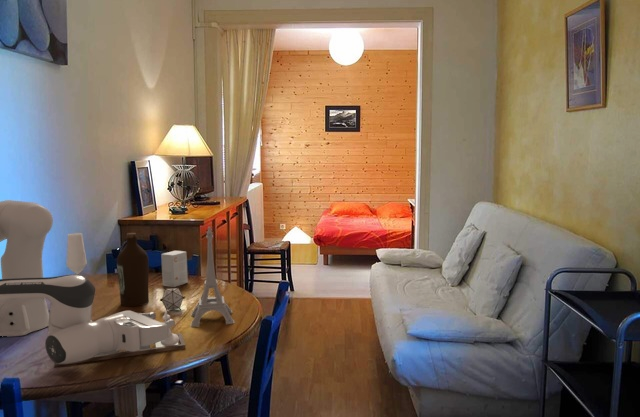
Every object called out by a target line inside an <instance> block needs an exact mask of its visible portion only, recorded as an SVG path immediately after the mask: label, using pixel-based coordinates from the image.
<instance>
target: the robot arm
mask: <svg viewBox="0 0 640 417" xmlns="http://www.w3.org/2000/svg"><path fill="white" fill-rule="evenodd" d="M53 224H54V218H53V215H52V213H51V211H50V210H49V209H48V208H47V207H44V206H43V205H41V204H39V203H37V202H32V201H22V200H21V201H20V200H11V199H8V200H7V199H6V200H2V201H0V243H1V242H3V241H5V240H6V245H5V249H4V253H3V254H2V255H1V257H0V271H1V278H0V336H2V337H3V336H7V337H19V336H20V337H21V336H25V335H27V334H30V333H32V332H36V331H38V330H41V329H44V328H48V329H47V333H48V336H47V337H46V339H45V342H44V343H45V351H46V354H47V355H48V358H49V359H50V360H51V361H52V362H53V363H54V364H55V363H56V364H67V365H69V364H68V363H74V362H79V361H83V360H86V359H89V358H92V357H95V356H96V355H98V354H100V353H109V352H112V351H115V350H116V351H119V352H120V351H124V352H126V351H132V352H134V351H137V350H139V349H140V347H143V346H148V345H150V346H151V345H155V343H157V342H160V341H162V340H164V339H166V338H167V337H168V329H169V328H170V329H171V328H173V327H175V326H176V321H175V319H172V318H170V319H169V320H166V322H165V321H164V322H162V321H159V320H156V318H157V315H156V314H157V313H156V312H153V311H150V312H135V311H132V310H130V309H129V310H123V311H120V312H115V313H113V314H111V315H109V316H108V315H107V316H105V317H101V318H98V319H97V320H95V321H93V320H92V319H91V318H92V309H93V304H94V299H95V296H96V287H95V285H94V284H93V283H92V281H91V280H89V278H87V277H86V276H84V275H81V274H79V275H76V274H65V275H58V276H47V277H44V268H43V267H44V266H43V251H44V247H45V246H44V245H45V241H46V237H47V235H48V234H49V232H50V231H51V230H52V227H53ZM47 300H48V301H49V302H50V303H49V307H48V303H47ZM2 337H1V338H2ZM3 338H4V337H3ZM56 364H55V365H56Z"/></svg>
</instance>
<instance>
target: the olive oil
mask: <svg viewBox="0 0 640 417" xmlns="http://www.w3.org/2000/svg"><path fill="white" fill-rule="evenodd" d="M149 264H150V262H149V256H148V253H147V251H146V250H144V249H143V248H142V247H141V246H140V245H139V244H138V238H137V233H136V232H127V233H126V244H125V246H124V247H123V249H121V251H119V253H118V255H117V258H116V267H117V268H116V269H117V277H118V287H119V297H120V298H119V300H120V305H122V306H123V307H138V306H143V305H145V304H147V303H149V298H150V297H149V296H150V295H149V292H150V291H149V274H150V272H149V267H150V266H149Z"/></svg>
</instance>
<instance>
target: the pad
mask: <svg viewBox="0 0 640 417" xmlns="http://www.w3.org/2000/svg"><path fill="white" fill-rule="evenodd" d="M178 344H179V342H178V343H177V344H175V345H178ZM154 345H155V348H156V347H163V345H162V344H161V341H160V342H157V343H154Z"/></svg>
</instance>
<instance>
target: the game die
mask: <svg viewBox="0 0 640 417" xmlns="http://www.w3.org/2000/svg"><path fill="white" fill-rule="evenodd" d="M180 287H181V285H179V286H177V287H172V288H166V286H163V289H164V292H163V294H162V298H159V301H160V302H162V304H163V307H164V309H165V310H166V311H167V312H168V311H169V310H177V309H178V310H180V311H182V308H181V307H182V306H181V305H182V303H183V301H184V299H185V298H186V296H184V295H183V293H182V292H181V290H180Z"/></svg>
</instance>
